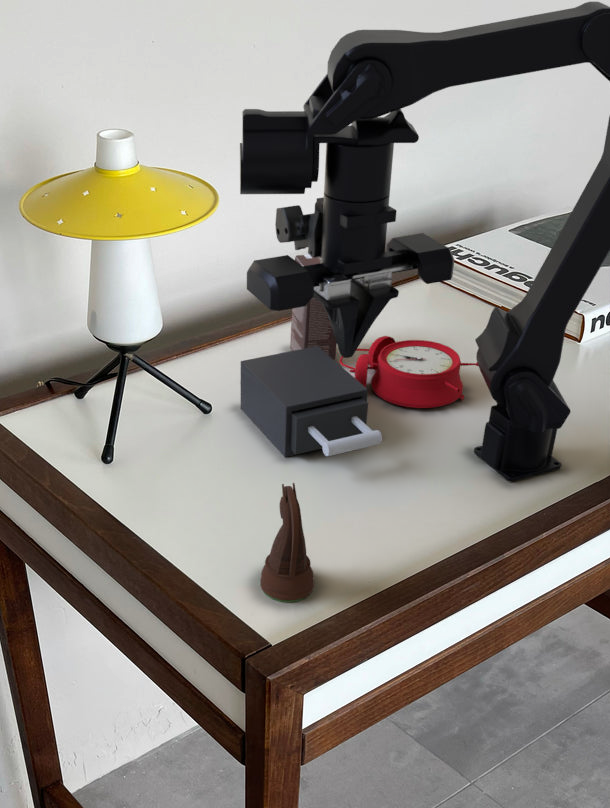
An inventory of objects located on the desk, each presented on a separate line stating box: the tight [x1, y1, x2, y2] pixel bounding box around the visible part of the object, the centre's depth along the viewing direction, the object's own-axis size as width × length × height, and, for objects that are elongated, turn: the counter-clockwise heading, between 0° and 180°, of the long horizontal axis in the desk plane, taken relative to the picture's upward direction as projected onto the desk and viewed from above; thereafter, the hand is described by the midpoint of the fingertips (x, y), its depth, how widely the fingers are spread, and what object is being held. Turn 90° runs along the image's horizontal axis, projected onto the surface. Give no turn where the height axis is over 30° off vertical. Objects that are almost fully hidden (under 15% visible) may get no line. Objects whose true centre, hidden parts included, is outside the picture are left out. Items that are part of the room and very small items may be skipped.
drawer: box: [291, 398, 383, 457], centre depth 106 cm, size 15×8×4 cm, turn 23°
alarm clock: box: [339, 335, 479, 409], centre depth 116 cm, size 10×6×15 cm
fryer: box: [240, 346, 369, 458], centre depth 109 cm, size 11×9×6 cm
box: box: [289, 254, 338, 362], centre depth 120 cm, size 6×4×12 cm
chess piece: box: [259, 482, 315, 603], centre depth 84 cm, size 5×5×10 cm
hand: (346, 355), depth 97 cm, fingers closed
